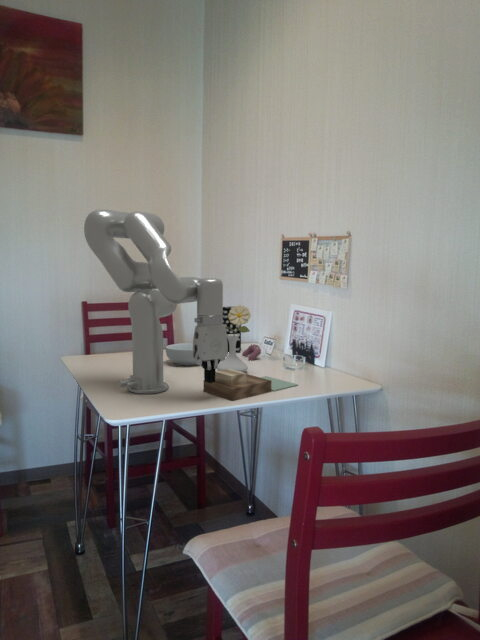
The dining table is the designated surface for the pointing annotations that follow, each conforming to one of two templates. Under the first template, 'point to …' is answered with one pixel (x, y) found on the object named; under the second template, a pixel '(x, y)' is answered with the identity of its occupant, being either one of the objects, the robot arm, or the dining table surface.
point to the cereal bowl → (181, 353)
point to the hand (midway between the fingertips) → (209, 381)
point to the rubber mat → (279, 384)
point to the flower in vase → (235, 339)
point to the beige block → (230, 377)
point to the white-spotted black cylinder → (232, 326)
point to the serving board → (239, 388)
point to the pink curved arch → (252, 352)
